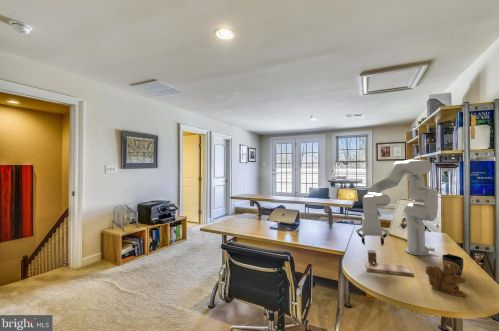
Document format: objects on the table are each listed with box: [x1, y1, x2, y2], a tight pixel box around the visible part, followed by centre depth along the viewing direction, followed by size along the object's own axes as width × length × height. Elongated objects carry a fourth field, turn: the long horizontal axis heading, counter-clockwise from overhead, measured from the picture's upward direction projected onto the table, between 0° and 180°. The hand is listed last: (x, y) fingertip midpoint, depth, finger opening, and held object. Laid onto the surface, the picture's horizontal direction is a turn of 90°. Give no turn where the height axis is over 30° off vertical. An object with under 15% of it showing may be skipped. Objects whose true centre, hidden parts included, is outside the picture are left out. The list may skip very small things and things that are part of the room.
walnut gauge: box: [367, 249, 378, 265], centre depth 139 cm, size 4×10×7 cm, turn 160°
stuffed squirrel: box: [425, 260, 467, 298], centre depth 111 cm, size 10×14×13 cm
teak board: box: [364, 261, 415, 277], centre depth 133 cm, size 22×9×2 cm, turn 70°
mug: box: [441, 253, 464, 277], centre depth 125 cm, size 8×12×10 cm
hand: (372, 244), depth 142 cm, fingers open, 9 cm apart
